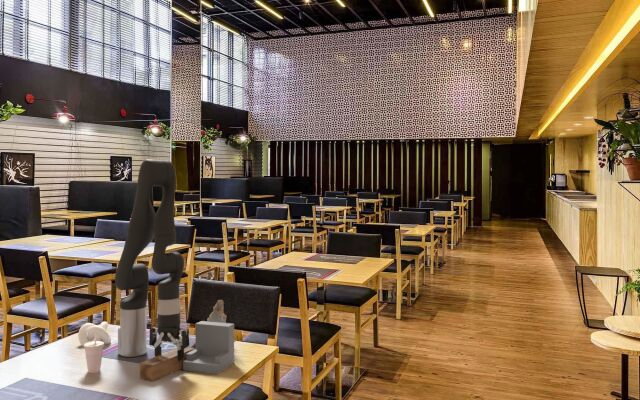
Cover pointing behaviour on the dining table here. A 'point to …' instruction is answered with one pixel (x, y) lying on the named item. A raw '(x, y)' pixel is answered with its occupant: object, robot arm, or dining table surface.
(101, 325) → the cream rounded lobed piece
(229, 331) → the bracket
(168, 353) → the rail
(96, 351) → the smoothie
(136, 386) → the dining table surface
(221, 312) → the figurine
